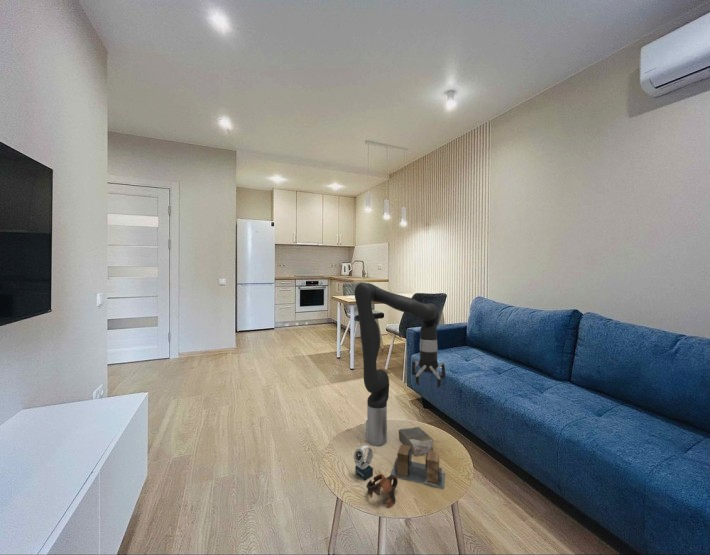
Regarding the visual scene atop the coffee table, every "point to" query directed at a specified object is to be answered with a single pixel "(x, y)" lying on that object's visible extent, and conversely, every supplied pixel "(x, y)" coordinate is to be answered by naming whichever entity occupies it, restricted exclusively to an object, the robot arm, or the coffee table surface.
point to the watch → (363, 467)
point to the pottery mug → (386, 486)
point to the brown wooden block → (432, 466)
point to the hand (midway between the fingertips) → (428, 385)
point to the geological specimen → (416, 440)
